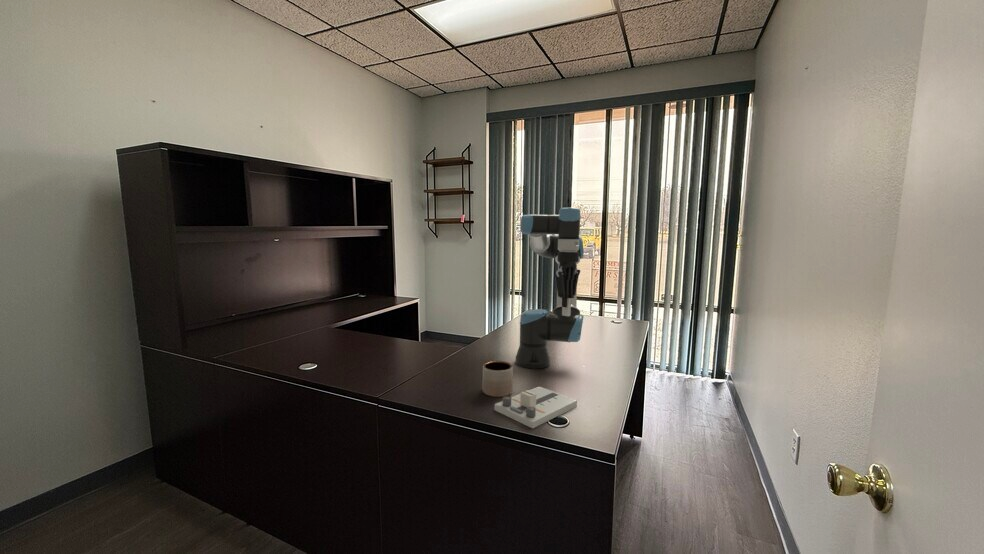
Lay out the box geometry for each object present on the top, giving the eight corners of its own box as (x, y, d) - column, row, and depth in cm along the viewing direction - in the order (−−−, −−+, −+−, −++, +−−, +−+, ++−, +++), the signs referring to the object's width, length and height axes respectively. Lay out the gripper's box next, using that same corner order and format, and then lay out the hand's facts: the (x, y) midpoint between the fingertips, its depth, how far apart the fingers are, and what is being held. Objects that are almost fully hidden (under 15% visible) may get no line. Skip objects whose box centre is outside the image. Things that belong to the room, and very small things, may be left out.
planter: (481, 386, 144) (481, 360, 143) (510, 385, 145) (511, 360, 144) (483, 398, 134) (483, 371, 132) (514, 397, 134) (515, 370, 133)
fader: (520, 404, 124) (520, 392, 123) (526, 401, 126) (526, 389, 125) (529, 408, 121) (530, 396, 120) (536, 405, 123) (536, 393, 123)
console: (494, 410, 125) (494, 397, 124) (539, 391, 140) (539, 380, 139) (532, 428, 113) (533, 414, 113) (576, 406, 128) (577, 394, 128)
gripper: (566, 252, 134) (563, 319, 136) (587, 251, 143) (584, 314, 145) (548, 251, 139) (546, 316, 142) (570, 250, 148) (568, 311, 151)
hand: (566, 315), depth 143 cm, fingers closed
